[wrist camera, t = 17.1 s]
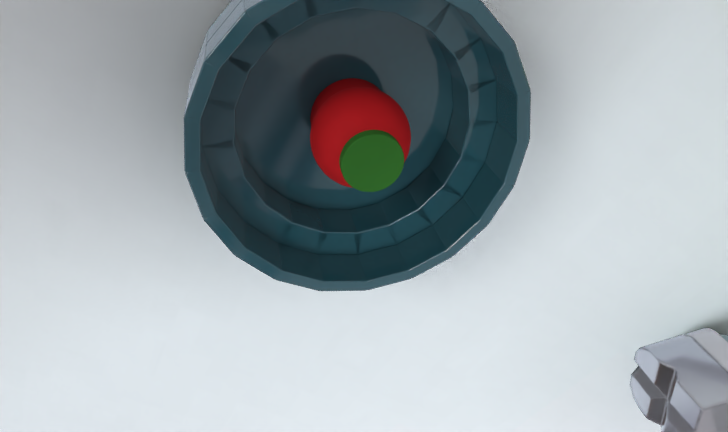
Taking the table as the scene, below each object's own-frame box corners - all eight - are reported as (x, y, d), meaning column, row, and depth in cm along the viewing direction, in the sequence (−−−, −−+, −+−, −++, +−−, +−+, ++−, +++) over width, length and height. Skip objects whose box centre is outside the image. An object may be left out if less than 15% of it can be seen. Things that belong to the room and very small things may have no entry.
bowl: (241, 260, 30) (243, 323, 26) (142, -15, 22) (122, 13, 18) (488, 198, 31) (528, 248, 27) (479, -83, 23) (534, -72, 19)
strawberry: (314, 167, 27) (330, 222, 23) (294, 82, 24) (307, 126, 20) (399, 147, 27) (430, 197, 23) (388, 61, 25) (421, 100, 21)
